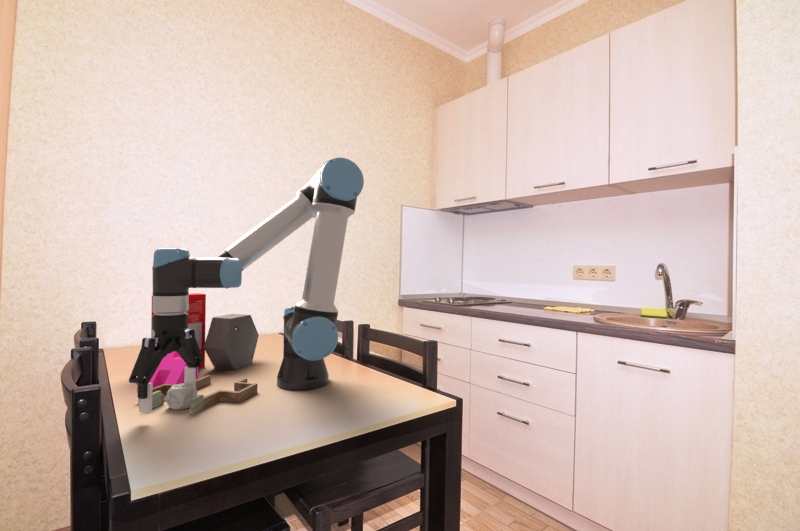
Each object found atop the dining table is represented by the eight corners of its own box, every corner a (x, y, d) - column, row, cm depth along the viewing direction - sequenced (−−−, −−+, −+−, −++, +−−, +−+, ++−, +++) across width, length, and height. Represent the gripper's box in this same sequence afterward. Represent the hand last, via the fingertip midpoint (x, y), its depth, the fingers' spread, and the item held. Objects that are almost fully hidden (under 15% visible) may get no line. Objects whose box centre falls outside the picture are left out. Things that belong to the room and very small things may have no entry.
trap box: (264, 388, 115) (264, 376, 115) (213, 416, 94) (214, 401, 94) (191, 382, 120) (191, 370, 120) (127, 407, 99) (127, 393, 99)
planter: (245, 344, 153) (226, 301, 142) (263, 345, 151) (245, 302, 140) (219, 379, 139) (197, 334, 128) (239, 381, 138) (218, 336, 126)
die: (183, 410, 97) (183, 389, 97) (165, 408, 98) (165, 388, 98) (197, 403, 102) (198, 383, 102) (180, 402, 103) (180, 382, 103)
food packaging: (196, 365, 140) (197, 293, 140) (204, 367, 137) (205, 294, 137) (150, 374, 128) (151, 295, 128) (158, 377, 125) (159, 296, 125)
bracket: (166, 379, 123) (166, 345, 123) (198, 380, 122) (198, 346, 122) (137, 391, 111) (137, 354, 111) (172, 393, 110) (173, 355, 110)
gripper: (194, 307, 109) (192, 385, 109) (109, 319, 85) (108, 420, 85) (218, 308, 108) (217, 387, 108) (139, 321, 83) (138, 423, 83)
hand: (169, 402), depth 96 cm, fingers open, 13 cm apart
